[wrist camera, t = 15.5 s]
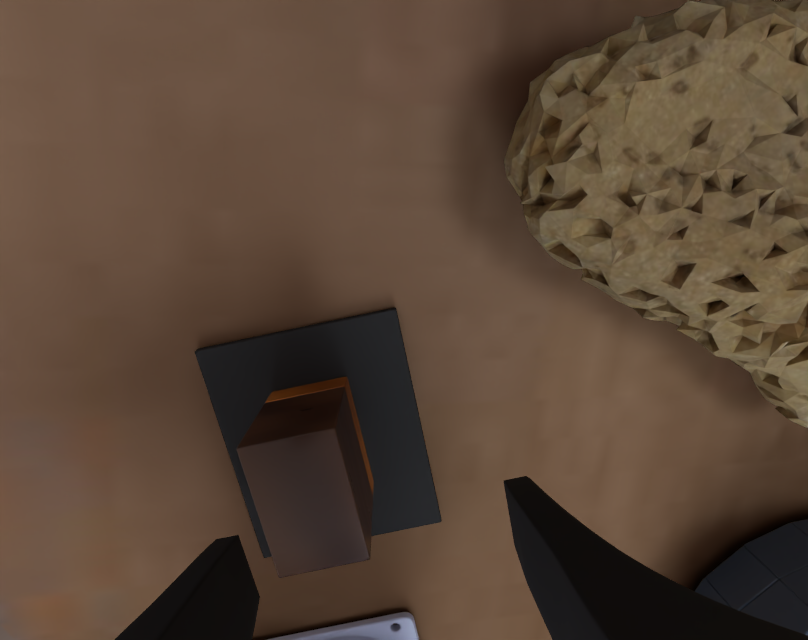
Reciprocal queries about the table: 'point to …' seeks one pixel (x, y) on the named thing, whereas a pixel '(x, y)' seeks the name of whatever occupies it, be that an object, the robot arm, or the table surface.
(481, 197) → the table surface
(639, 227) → the sponge
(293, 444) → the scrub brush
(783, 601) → the bowl
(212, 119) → the table surface
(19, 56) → the table surface
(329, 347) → the mat
